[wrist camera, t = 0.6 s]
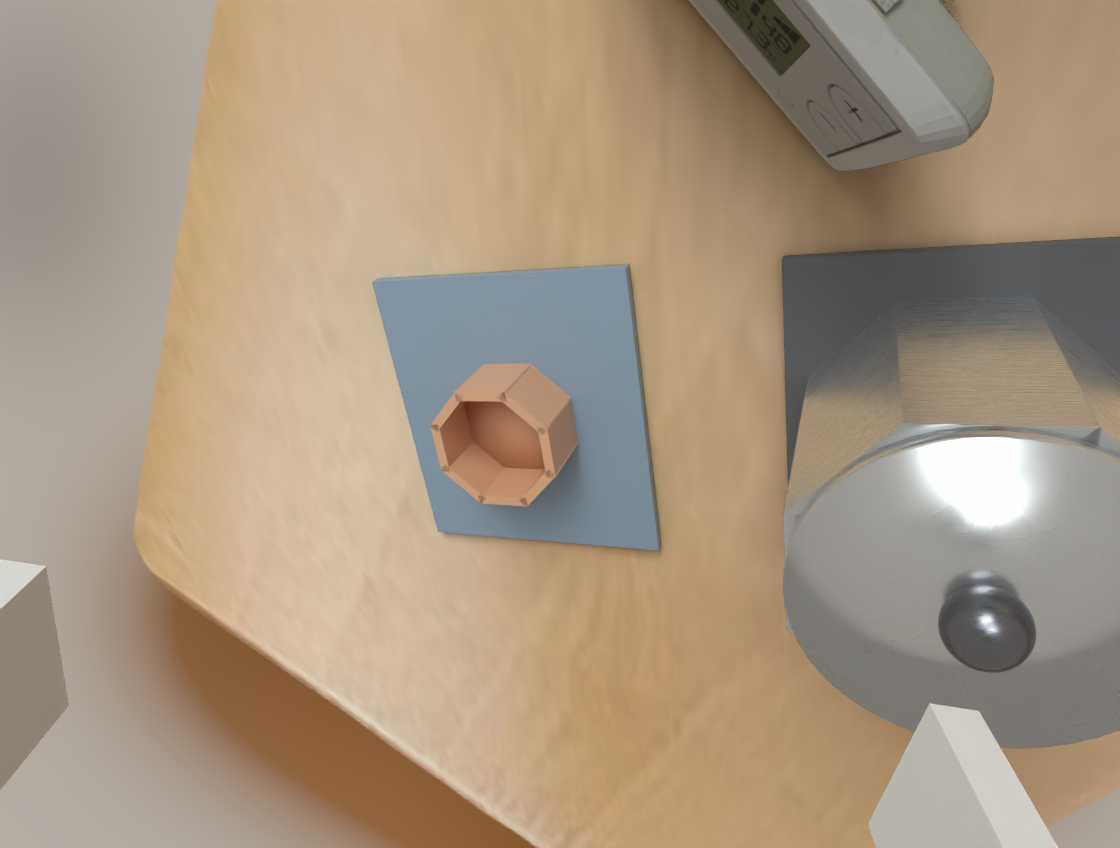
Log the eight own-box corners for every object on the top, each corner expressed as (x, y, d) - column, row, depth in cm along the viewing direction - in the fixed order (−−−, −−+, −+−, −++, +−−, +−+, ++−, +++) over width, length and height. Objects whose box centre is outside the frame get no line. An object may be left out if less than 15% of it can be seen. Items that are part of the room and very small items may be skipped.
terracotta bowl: (452, 363, 41) (420, 391, 39) (565, 362, 39) (541, 391, 36) (476, 468, 44) (448, 501, 41) (583, 474, 42) (562, 509, 39)
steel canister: (806, 303, 34) (769, 468, 22) (1139, 291, 29) (1318, 492, 17) (809, 531, 39) (780, 764, 27) (1092, 551, 34) (1205, 841, 23)
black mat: (783, 255, 34) (782, 259, 33) (1176, 233, 28) (1182, 237, 28) (791, 555, 40) (790, 561, 40) (1108, 580, 35) (1111, 589, 35)
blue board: (378, 278, 41) (372, 282, 41) (629, 264, 36) (625, 268, 36) (442, 526, 48) (438, 531, 48) (660, 544, 43) (658, 550, 43)
